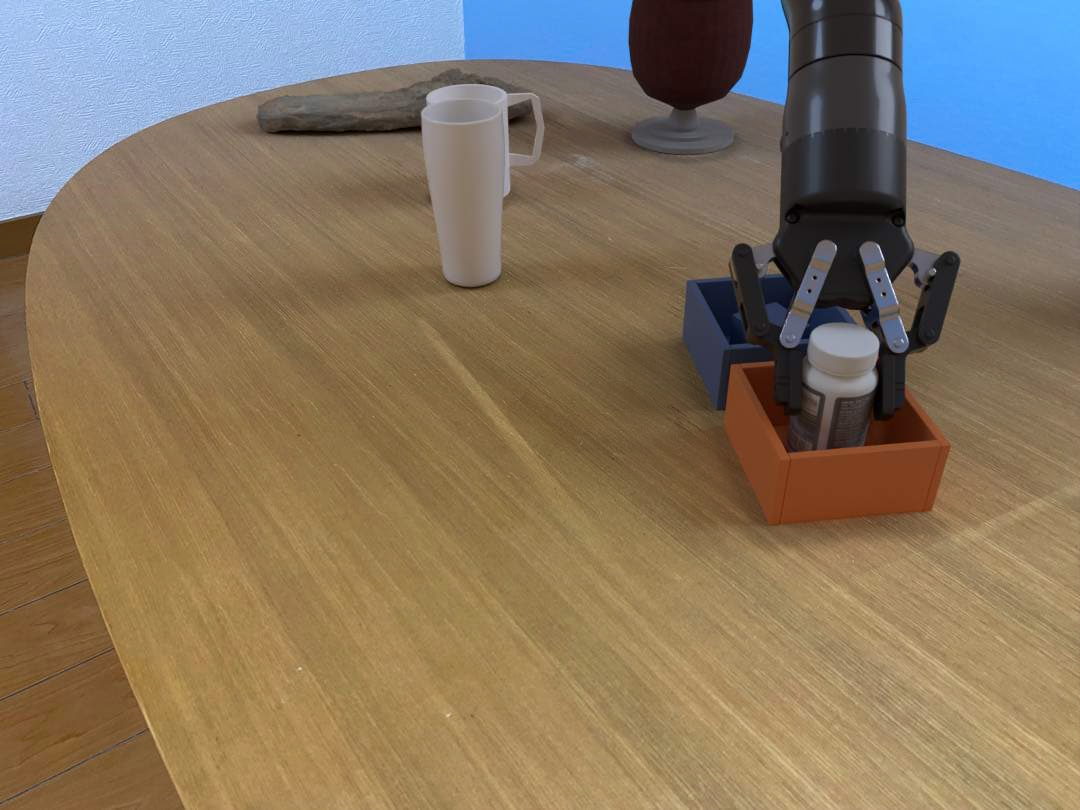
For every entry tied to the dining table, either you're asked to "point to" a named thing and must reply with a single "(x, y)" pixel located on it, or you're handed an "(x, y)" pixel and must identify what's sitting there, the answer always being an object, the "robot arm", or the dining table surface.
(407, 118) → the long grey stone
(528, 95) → the cup
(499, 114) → the drinking glass
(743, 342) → the blue block
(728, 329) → the blue bin
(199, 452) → the dining table surface
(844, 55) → the robot arm
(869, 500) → the orange bin
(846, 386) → the pill bottle
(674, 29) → the mate gourd
